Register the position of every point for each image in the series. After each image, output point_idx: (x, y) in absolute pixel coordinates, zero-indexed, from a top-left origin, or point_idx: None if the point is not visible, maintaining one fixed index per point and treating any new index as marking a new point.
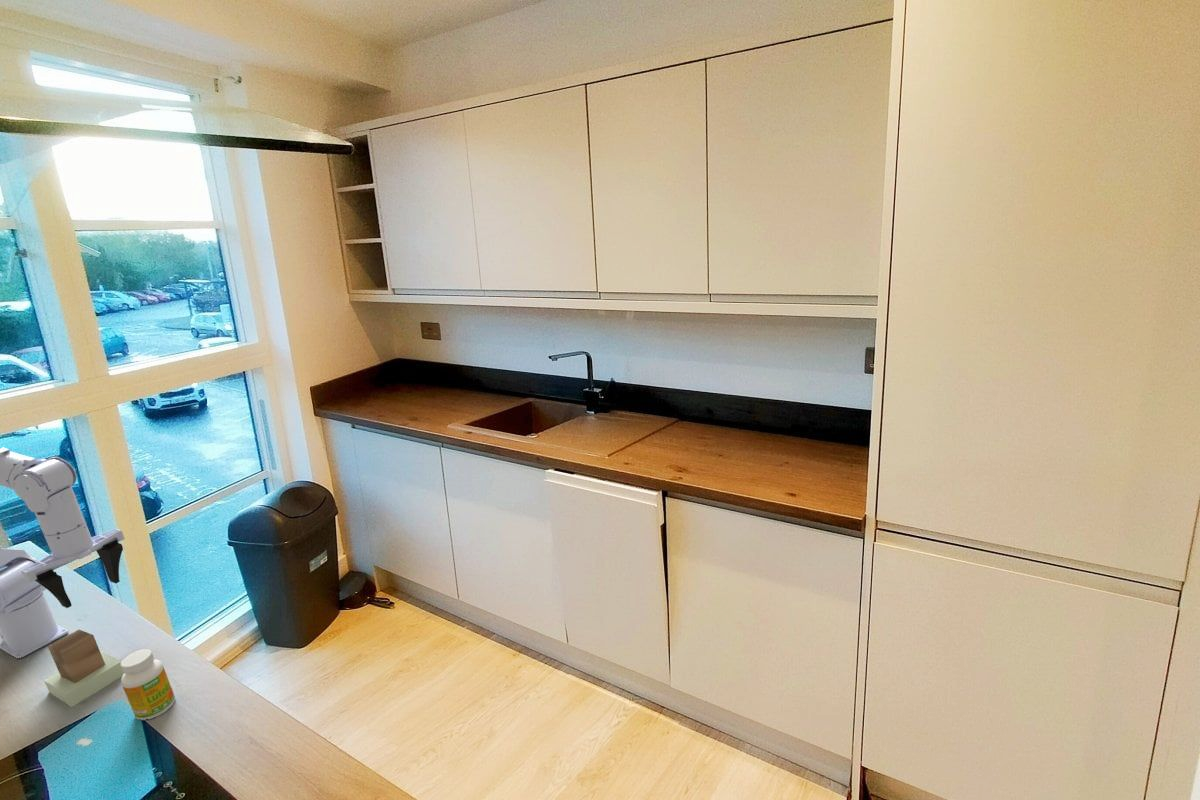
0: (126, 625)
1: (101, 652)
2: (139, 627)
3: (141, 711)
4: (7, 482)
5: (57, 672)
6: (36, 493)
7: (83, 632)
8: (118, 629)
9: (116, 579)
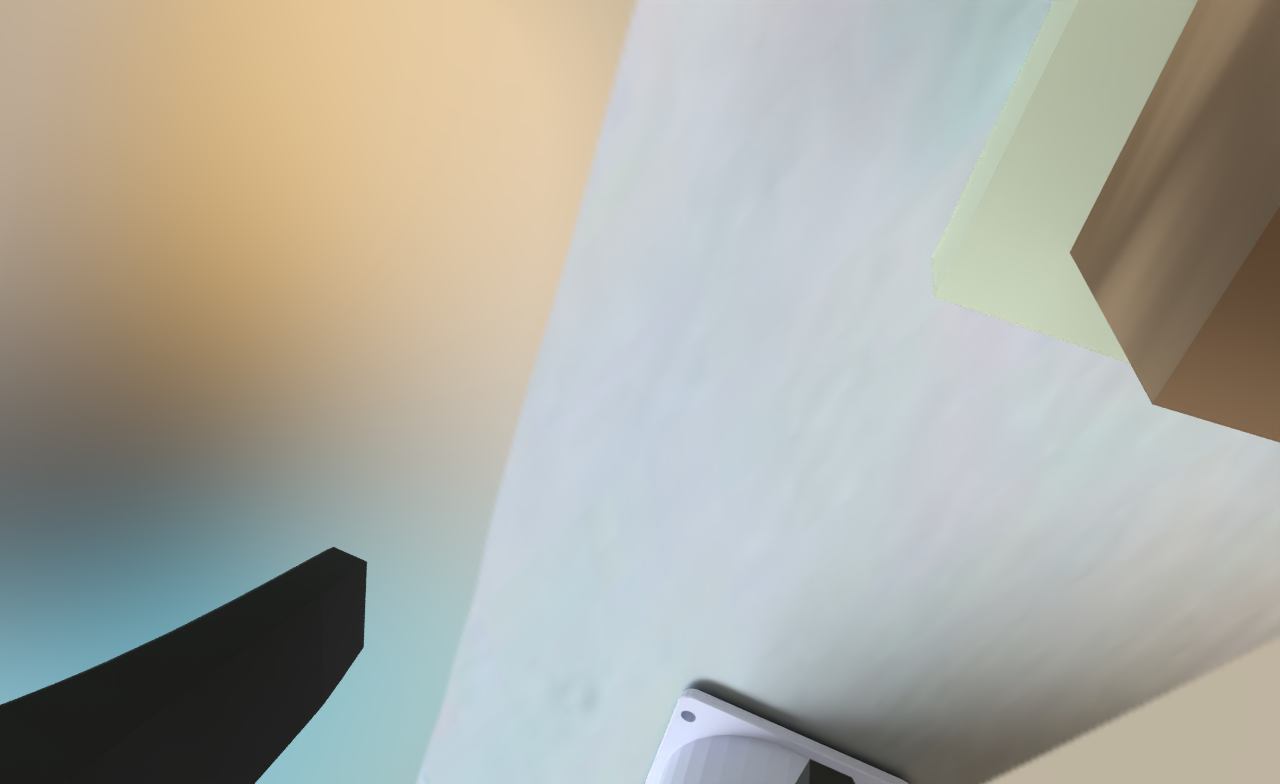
0: (578, 412)
1: (984, 221)
2: (577, 303)
3: None
4: None
5: None
6: None
7: (1275, 255)
8: (618, 433)
9: (317, 578)
